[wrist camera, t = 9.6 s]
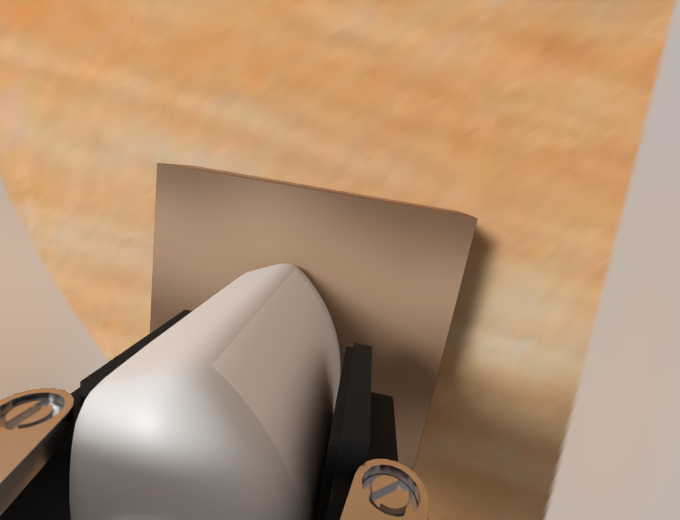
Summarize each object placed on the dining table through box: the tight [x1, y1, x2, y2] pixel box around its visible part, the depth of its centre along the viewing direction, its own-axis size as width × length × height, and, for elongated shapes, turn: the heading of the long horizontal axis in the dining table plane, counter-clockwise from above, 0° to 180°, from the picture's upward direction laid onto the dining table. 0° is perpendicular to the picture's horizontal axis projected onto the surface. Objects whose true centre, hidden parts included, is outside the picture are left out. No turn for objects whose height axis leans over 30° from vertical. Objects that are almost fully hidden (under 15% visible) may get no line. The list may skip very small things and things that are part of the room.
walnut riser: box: [150, 163, 478, 471], centre depth 14 cm, size 11×11×2 cm
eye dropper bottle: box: [69, 263, 340, 520], centre depth 7 cm, size 4×6×12 cm
